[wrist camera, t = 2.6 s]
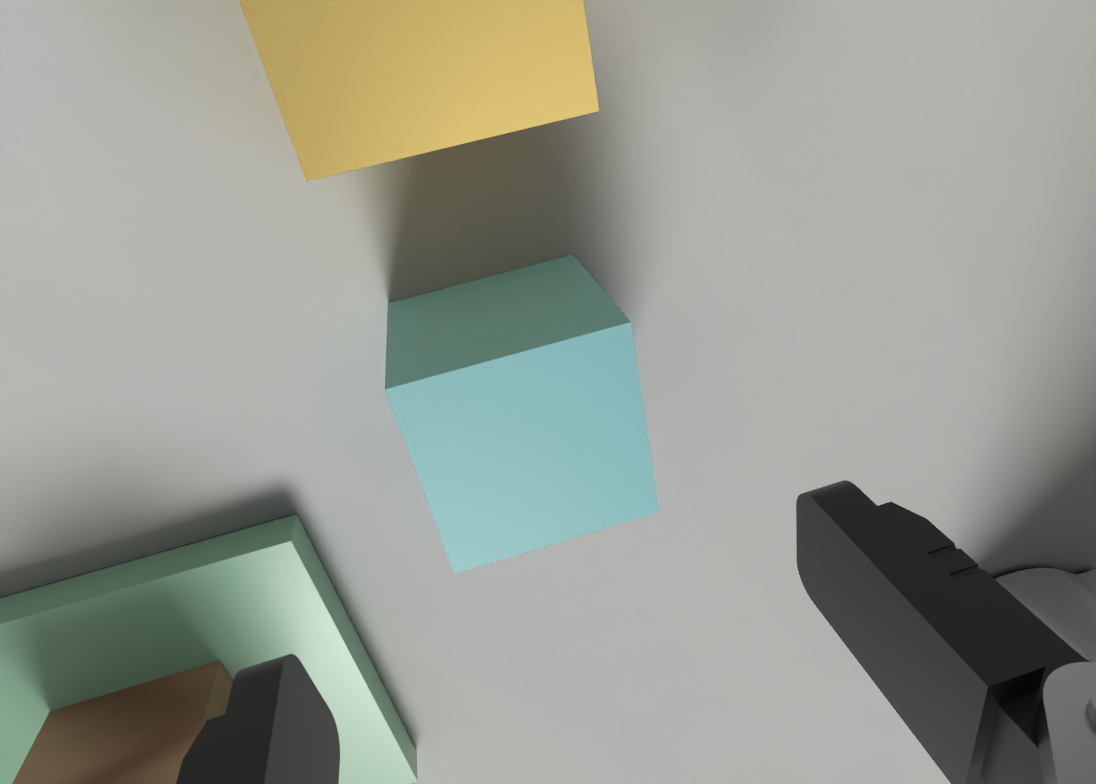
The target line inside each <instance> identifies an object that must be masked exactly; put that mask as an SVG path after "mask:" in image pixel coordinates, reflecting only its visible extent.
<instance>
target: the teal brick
mask: <svg viewBox="0 0 1096 784" xmlns="http://www.w3.org/2000/svg"><path fill="white" fill-rule="evenodd" d="M385 391H386V393H387V396H388V399H389V401H390V404H391V407H392V409H393V412H394V415H395V417H396V420H397V423H398V425H399V428H400V431H401V433H402V436H403V439H404V441H405V444H406V447H407V449H408V452H409V455H410V457H411V460H412V463H413V465H414V468H415V471H416V473H417V476H418V479H419V481H420V484H421V487H422V489H423V492H424V495H425V497H426V500H427V503H428V505H429V508H430V511H431V513H432V516H433V519H434V521H435V524H436V527H437V529H438V532H439V535H440V537H441V540H442V543H443V545H444V548H445V551H446V553H447V556H448V559H449V561H450V564H451V567H452V569H453V572H454V574H455V573H458V572H461V571H465V570H468V569H472V568H475V567H478V566H482V565H485V564H488V563H492V562H495V561H498V560H502V559H505V558H508V557H512V556H515V555H518V554H522V553H525V552H528V551H532V550H535V549H538V548H542V547H545V546H548V545H552V544H555V543H558V542H562V541H565V540H568V539H572V538H575V537H578V536H582V535H585V534H588V533H592V532H595V531H598V530H602V529H605V528H608V527H612V526H615V525H618V524H622V523H625V522H628V521H632V520H635V519H638V518H642V517H645V516H648V515H652V514H655V513H659V507H658V500H657V494H656V487H655V480H654V474H653V467H652V460H651V454H650V447H649V440H648V433H647V427H646V420H645V413H644V407H643V400H642V393H641V387H640V380H639V373H638V366H637V360H636V353H635V346H634V340H633V333H632V326H631V322H630V320H629V319H628V318H627V317H626V316H625V315H624V313H623V312H622V311H621V310H620V309H619V308H618V306H617V305H616V304H615V303H614V302H613V300H612V299H611V298H610V297H609V296H608V295H607V293H606V292H605V291H604V290H603V289H602V288H601V286H600V285H599V284H598V283H597V282H596V280H595V279H594V278H593V277H592V276H591V275H590V273H589V272H588V271H587V270H586V269H585V268H584V266H583V265H582V264H581V263H580V262H579V260H578V259H577V258H576V257H575V256H574V255H569V256H565V257H561V258H558V259H554V260H550V261H546V262H542V263H539V264H535V265H531V266H527V267H523V268H520V269H516V270H512V271H508V272H504V273H501V274H497V275H493V276H489V277H485V278H482V279H478V280H474V281H470V282H466V283H463V284H459V285H455V286H451V287H447V288H444V289H440V290H436V291H432V292H428V293H425V294H421V295H417V296H413V297H409V298H405V299H402V300H398V301H394V302H390V303H388V318H387V347H386V376H385Z"/></svg>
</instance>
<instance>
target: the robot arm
mask: <svg viewBox="0 0 1096 784" xmlns="http://www.w3.org/2000/svg"><path fill="white" fill-rule="evenodd" d="M796 512H797V566H798V571H799V575H800V578H801V580H802V583H803V585H804V587H805V589H806V591H807V593H808V595H809V597H810V598H811V600H812V601H813V603H814V604H815V605H816V606H817V608H818V609H819V610H820V612H821V613H822V614H823V616H824V617H825V618H826V620H827V621H828V622H829V624H830V625H831V626H832V627H833V629H834V630H835V631H836V633H837V634H838V635H839V637H840V638H841V639H842V641H843V642H844V643H845V645H846V646H847V647H848V649H849V650H850V651H851V652H852V654H853V655H854V656H855V658H856V659H857V660H858V662H859V663H860V664H861V666H862V667H863V668H864V670H865V671H866V672H867V673H868V675H869V676H870V677H871V679H872V680H873V681H874V683H875V684H876V685H877V687H878V688H879V689H880V691H881V692H882V693H883V695H884V696H885V697H886V698H887V700H888V701H889V702H890V704H891V705H892V706H893V708H894V709H895V710H896V712H897V713H898V714H899V716H900V717H901V718H902V719H903V721H904V722H905V723H906V725H907V726H908V727H909V729H910V730H911V731H912V733H913V734H914V735H915V737H916V738H917V739H918V741H919V742H920V743H921V744H922V746H923V747H924V748H925V750H926V751H927V752H928V754H929V755H930V756H931V758H932V759H933V760H934V762H935V763H936V764H937V766H938V767H939V768H940V769H941V771H942V772H943V773H944V775H945V776H946V777H947V779H948V780H949V781H950V783H951V784H1096V569H1095V570H1091V571H1088V572H1085V573H1080V574H1073V573H1069V572H1066V571H1063V570H1060V569H1056V568H1034V569H1027V570H1020V571H1017V572H1014V573H1010V574H1007V575H1004V576H1001V577H998V578H996V579H994V578H993V577H992V576H990V575H989V574H988V573H987V572H986V571H985V570H980V569H979V568H978V564H977V563H976V562H975V561H974V560H972V559H971V558H970V557H969V556H968V555H967V554H966V553H964V552H963V551H962V550H961V549H957V548H956V547H955V545H954V543H953V542H952V541H951V540H950V539H949V538H948V537H946V536H945V535H944V534H943V533H942V532H941V531H940V530H939V529H937V528H936V527H935V526H934V525H933V524H932V523H931V522H930V521H928V520H927V519H926V518H924V517H922V516H919V515H917V514H915V513H913V512H911V511H909V510H907V509H905V508H903V507H901V506H899V505H896V504H894V503H892V502H889V503H886V504H882V505H879V506H877V505H876V504H875V503H874V502H872V501H871V500H870V499H869V498H868V497H867V496H866V495H865V494H864V493H863V492H862V491H861V490H860V489H859V488H858V487H857V486H855V485H854V484H853V483H851V482H849V481H841V482H837V483H834V484H831V485H828V486H825V487H822V488H819V489H815V490H812V491H809V492H806V493H803V494H800V495H799V496H798V498H797V505H796ZM339 767H340V742H339V735H338V730H337V726H336V722H335V719H334V717H333V714H332V712H331V710H330V709H329V707H328V705H327V704H326V702H325V701H324V699H323V697H322V696H321V694H320V692H319V691H318V689H317V687H316V686H315V684H314V683H313V681H312V679H311V678H310V676H309V674H308V673H307V671H306V669H305V668H304V666H303V665H302V663H301V661H300V660H299V658H298V657H297V656H296V655H294V654H288V655H285V656H282V657H279V658H276V659H272V660H269V661H266V662H263V663H260V664H257V665H253V666H250V667H247V668H244V669H241V670H239V671H238V672H237V674H236V675H235V677H234V680H233V683H232V687H231V692H230V696H229V700H228V705H227V709H226V713H225V714H224V715H221V716H218V717H215V718H212V719H208V720H207V721H206V722H205V724H204V726H203V727H202V729H201V731H200V732H199V734H198V735H197V737H196V739H195V740H194V742H193V743H192V745H191V747H190V748H189V750H188V752H187V753H186V755H185V756H184V758H183V760H182V764H181V767H180V771H179V774H178V778H177V782H176V784H339Z"/></svg>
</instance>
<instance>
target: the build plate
mask: <svg viewBox="0 0 1096 784" xmlns="http://www.w3.org/2000/svg"><path fill="white" fill-rule="evenodd" d="M288 654H294V655H296V656H297V657H298V658H299V660H300V661H301V663H302V665H303V666H304V668H305V669H306V671H307V673H308V674H309V676H310V678H311V679H312V681H313V683H314V684H315V686H316V687H317V689H318V691H319V692H320V694H321V696H322V697H323V699H324V701H325V702H326V704H327V705H328V707H329V709H330V710H331V712H332V714H333V717H334V719H335V722H336V726H337V730H338V735H339V742H340V767H339V784H410V783H413V782H416V781H417V751H416V749H415V747H414V745H413V743H412V741H411V739H410V737H409V735H408V733H407V731H406V729H405V727H404V725H403V723H402V721H401V719H400V717H399V715H398V713H397V711H396V709H395V707H394V705H393V703H392V701H391V699H390V697H389V695H388V693H387V691H386V689H385V687H384V685H383V683H382V681H381V680H380V678H379V676H378V674H377V672H376V670H375V668H374V666H373V664H372V662H371V660H370V658H369V656H368V654H367V652H366V650H365V648H364V646H363V644H362V642H361V640H360V638H359V636H358V634H357V632H356V630H355V628H354V626H353V624H352V622H351V620H350V618H349V616H348V614H347V612H346V610H345V608H344V606H343V604H342V603H341V601H340V599H339V597H338V595H337V593H336V591H335V589H334V587H333V585H332V583H331V581H330V579H329V577H328V575H327V573H326V571H325V569H324V567H323V565H322V563H321V561H320V559H319V557H318V555H317V553H316V551H315V549H314V547H313V545H312V543H311V541H310V539H309V537H308V535H307V533H306V531H305V529H304V528H303V526H302V524H301V522H300V520H299V518H298V516H297V514H295V515H292V516H288V517H285V518H281V519H278V520H274V521H271V522H267V523H264V524H260V525H257V526H253V527H250V528H246V529H243V530H239V531H235V532H232V533H228V534H225V535H221V536H218V537H214V538H211V539H207V540H204V541H200V542H197V543H193V544H190V545H186V546H183V547H179V548H176V549H172V550H169V551H165V552H161V553H158V554H154V555H151V556H147V557H144V558H140V559H137V560H133V561H130V562H126V563H123V564H119V565H116V566H112V567H109V568H105V569H102V570H98V571H94V572H91V573H87V574H84V575H80V576H77V577H73V578H70V579H66V580H63V581H59V582H56V583H52V584H49V585H45V586H42V587H38V588H35V589H31V590H28V591H24V592H20V593H17V594H13V595H10V596H6V597H3V598H0V784H12V783H13V781H14V779H15V777H16V775H17V773H18V771H19V769H20V768H21V766H22V764H23V762H24V760H25V758H26V756H27V754H28V752H29V750H30V748H31V746H32V744H33V743H34V741H35V739H36V737H37V735H38V733H39V731H40V729H41V727H42V725H43V723H44V721H45V720H46V718H47V716H48V714H49V712H50V711H52V710H55V709H58V708H62V707H65V706H68V705H72V704H75V703H79V702H82V701H85V700H89V699H92V698H95V697H99V696H102V695H105V694H109V693H112V692H115V691H119V690H122V689H125V688H129V687H132V686H135V685H139V684H142V683H145V682H149V681H152V680H156V679H159V678H162V677H166V676H169V675H172V674H176V673H179V672H182V671H186V670H189V669H192V668H196V667H199V666H202V665H206V664H209V663H212V662H216V661H219V660H221V662H222V663H223V665H224V666H225V668H226V669H227V671H228V672H229V674H230V675H231V676H232V678H233V679H234V677H235V675H236V674H237V672H238V671H239V670H241V669H244V668H247V667H250V666H253V665H257V664H260V663H263V662H266V661H269V660H272V659H276V658H279V657H282V656H285V655H288Z"/></svg>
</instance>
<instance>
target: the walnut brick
mask: <svg viewBox="0 0 1096 784" xmlns="http://www.w3.org/2000/svg"><path fill="white" fill-rule="evenodd" d="M233 680H234V679H233V678H232V676H231V675H230V674H229V672H228V671H227V669H226V668H225V666H224V665H223V663H222V662H221V660H219V661H216V662H212V663H209V664H206V665H202V666H199V667H196V668H192V669H189V670H186V671H182V672H179V673H176V674H172V675H169V676H166V677H162V678H159V679H156V680H152V681H149V682H145V683H142V684H139V685H135V686H132V687H129V688H125V689H122V690H119V691H115V692H112V693H109V694H105V695H102V696H99V697H95V698H92V699H89V700H85V701H82V702H79V703H75V704H72V705H68V706H65V707H62V708H58V709H55V710H52V711H50V712H49V714H48V716H47V718H46V720H45V721H44V723H43V725H42V727H41V729H40V731H39V733H38V735H37V737H36V739H35V741H34V743H33V744H32V746H31V748H30V750H29V752H28V754H27V756H26V758H25V760H24V762H23V764H22V766H21V768H20V769H19V771H18V773H17V775H16V777H15V779H14V781H13V783H12V784H176V782H177V778H178V774H179V771H180V767H181V764H182V760H183V758H184V756H185V755H186V753H187V752H188V750H189V748H190V747H191V745H192V743H193V742H194V740H195V739H196V737H197V735H198V734H199V732H200V731H201V729H202V727H203V726H204V724H205V722H206V721H207V720H208V719H212V718H215V717H218V716H221V715H224V714H225V713H226V709H227V705H228V700H229V696H230V692H231V687H232V683H233Z"/></svg>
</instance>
